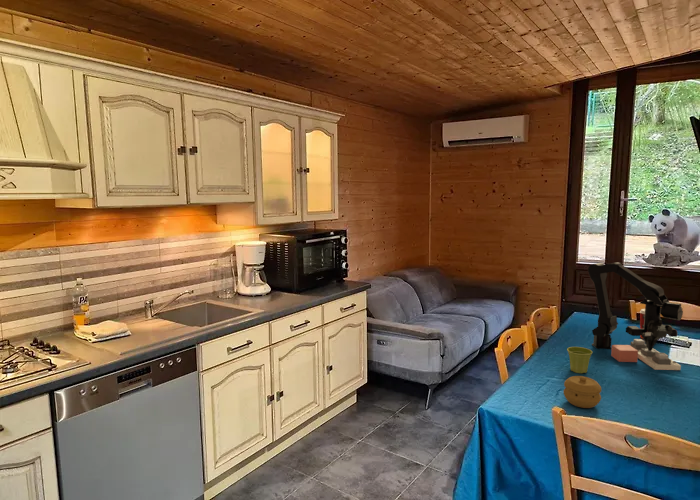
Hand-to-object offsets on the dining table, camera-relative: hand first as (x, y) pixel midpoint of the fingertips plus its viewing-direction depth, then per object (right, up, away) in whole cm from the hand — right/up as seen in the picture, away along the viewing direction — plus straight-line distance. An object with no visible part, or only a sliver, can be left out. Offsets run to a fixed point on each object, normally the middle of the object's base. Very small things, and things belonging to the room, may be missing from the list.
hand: (649, 350), depth 208 cm
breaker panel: (+1, -4, 0) cm, 4 cm away
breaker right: (-1, -2, -9) cm, 9 cm away
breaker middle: (0, -2, 0) cm, 2 cm away
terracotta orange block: (-10, -4, +1) cm, 11 cm away
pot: (-50, -10, -42) cm, 66 cm away
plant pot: (-36, -6, -12) cm, 39 cm away
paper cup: (+17, 0, +29) cm, 34 cm away
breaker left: (+1, +1, +9) cm, 9 cm away
